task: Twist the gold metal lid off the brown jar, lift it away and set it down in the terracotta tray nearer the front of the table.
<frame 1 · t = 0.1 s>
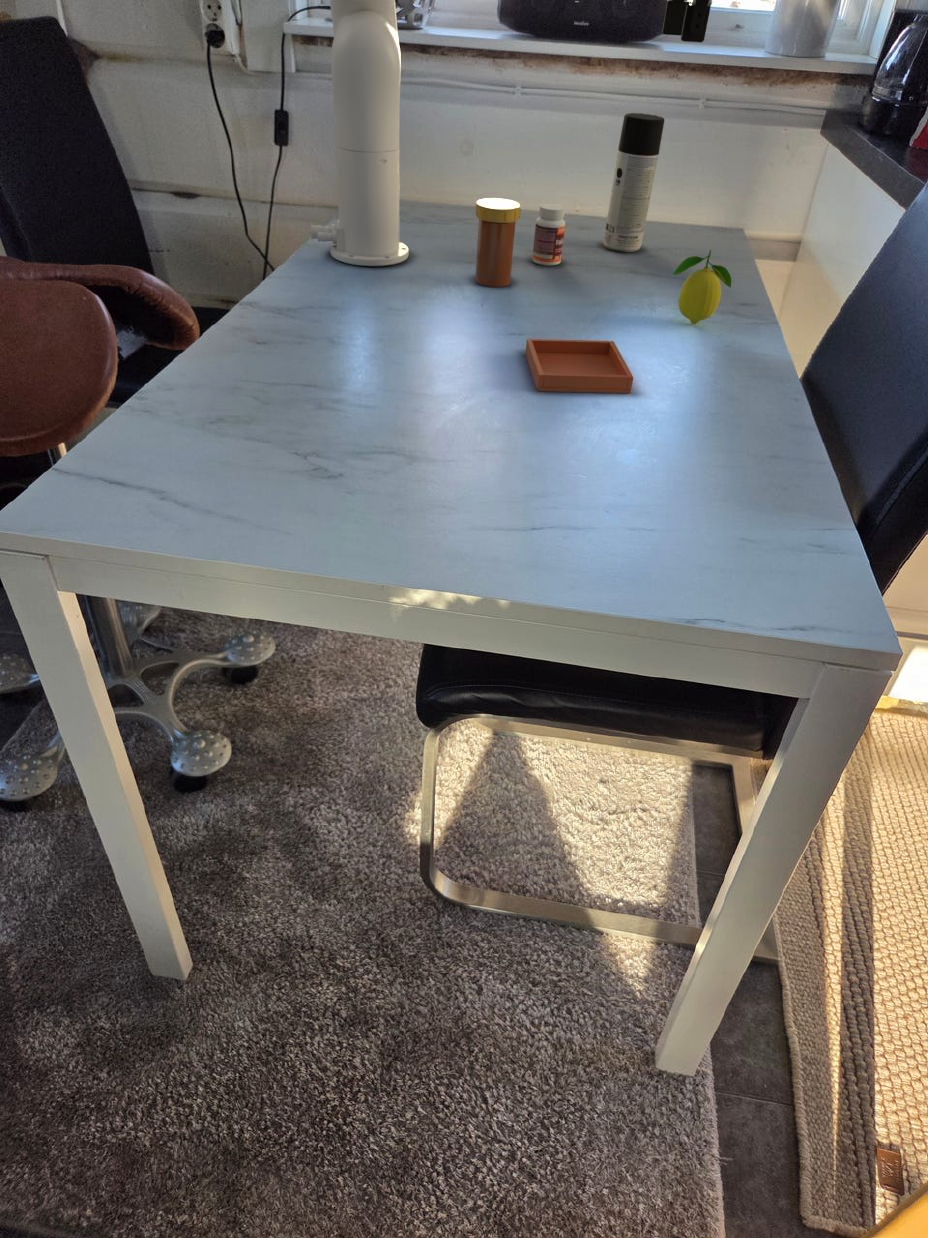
hand: (681, 37, 118), 31 cm above the table, tool pointing down, fingers open, 9 cm apart
lemon: (692, 325, 117), on the table
pill bottle: (546, 262, 137), on the table
brown jar: (492, 281, 127), on the table
jar lid: (498, 205, 120), point 11 cm above the table, screwed on, not yet turned
tray: (575, 372, 102), on the table
spray can: (621, 248, 146), on the table
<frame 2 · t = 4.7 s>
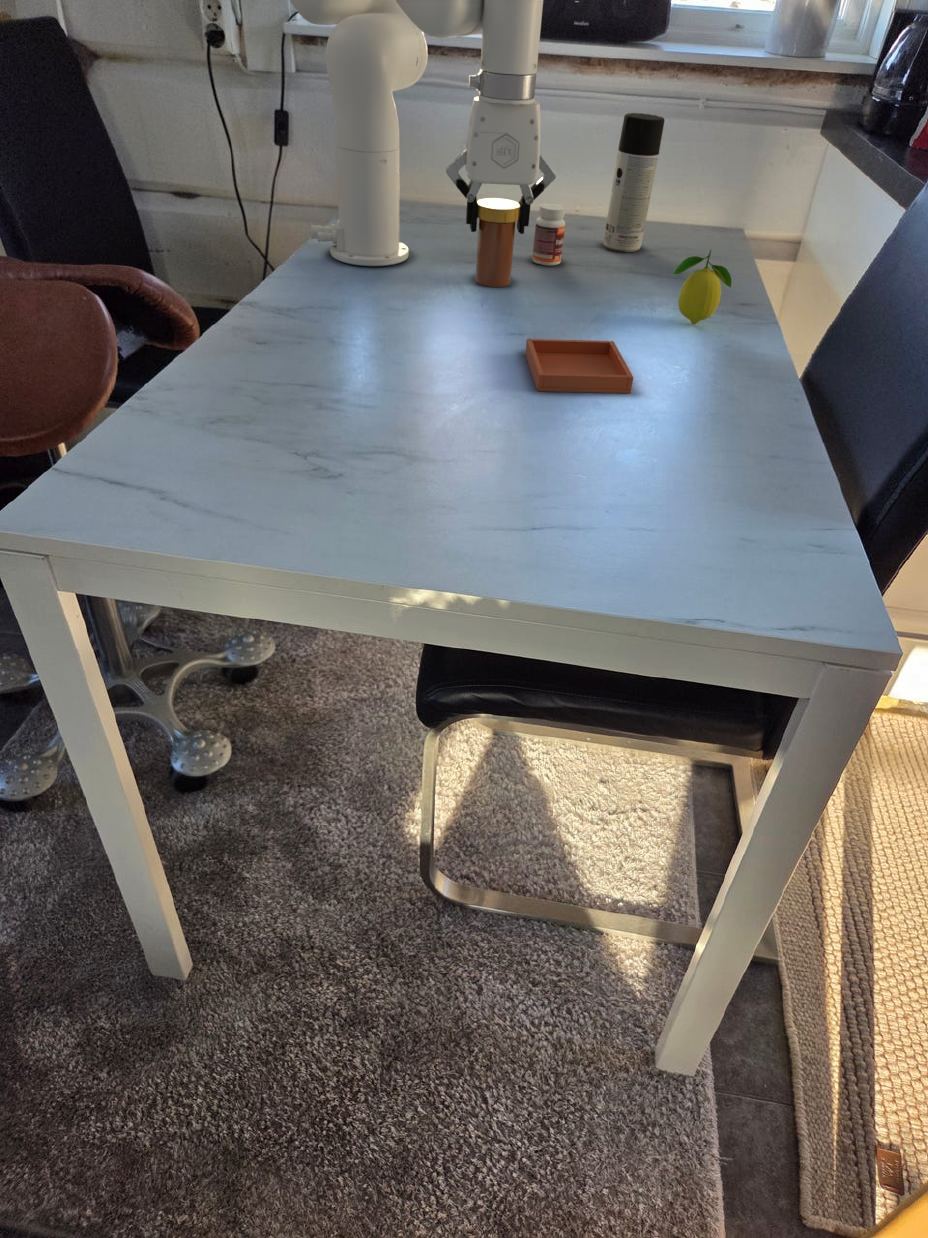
hand: (496, 229, 122), 8 cm above the table, tool pointing down, fingers closed on jar lid, 6 cm apart
jar lid: (498, 205, 120), point 11 cm above the table, screwed on, not yet turned, touching gripper
everything else where it was.
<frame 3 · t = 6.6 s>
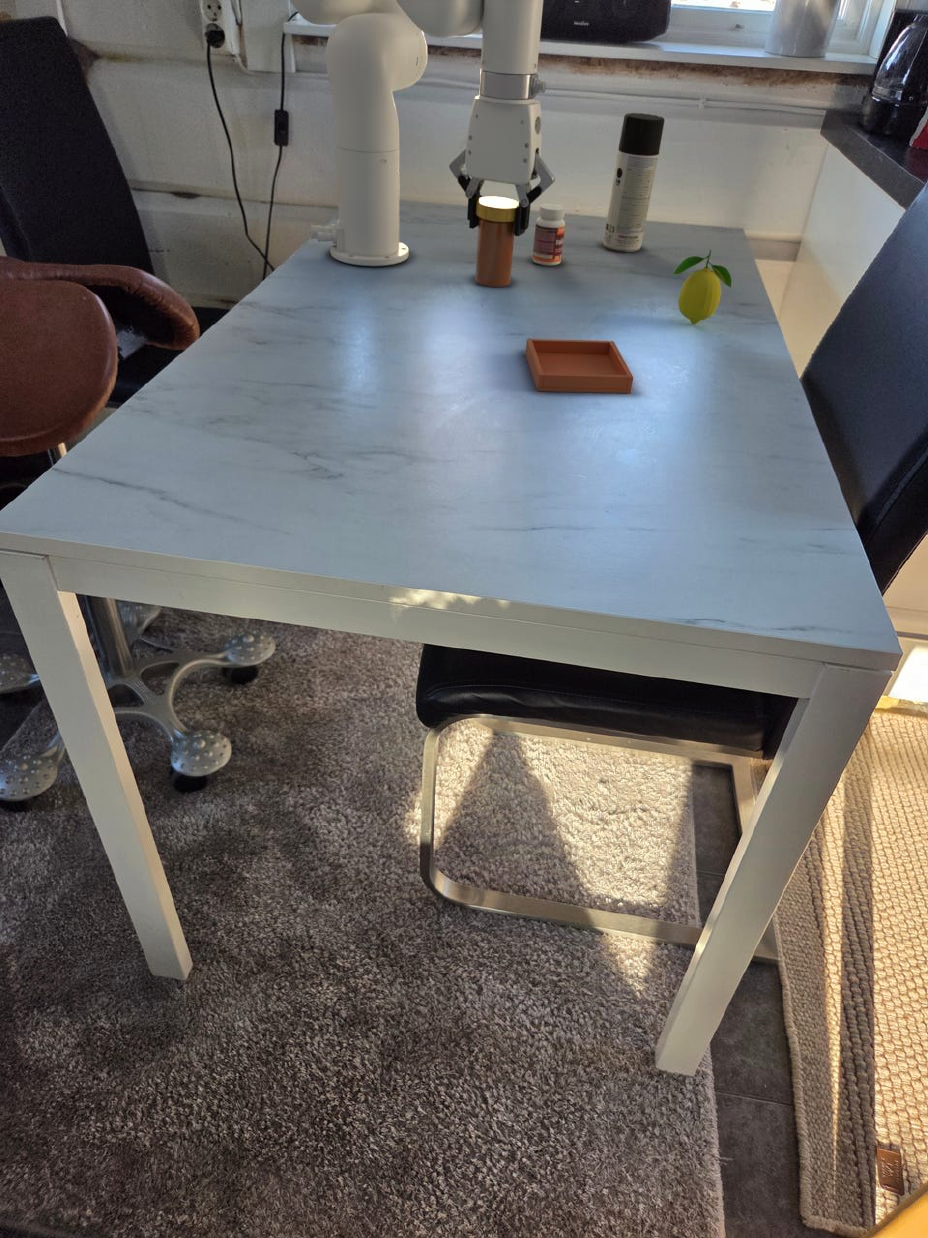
hand: (497, 228, 122), 8 cm above the table, tool pointing down, fingers closed on jar lid, 6 cm apart
jar lid: (498, 204, 120), point 11 cm above the table, off its thread, touching gripper
everything else where it was.
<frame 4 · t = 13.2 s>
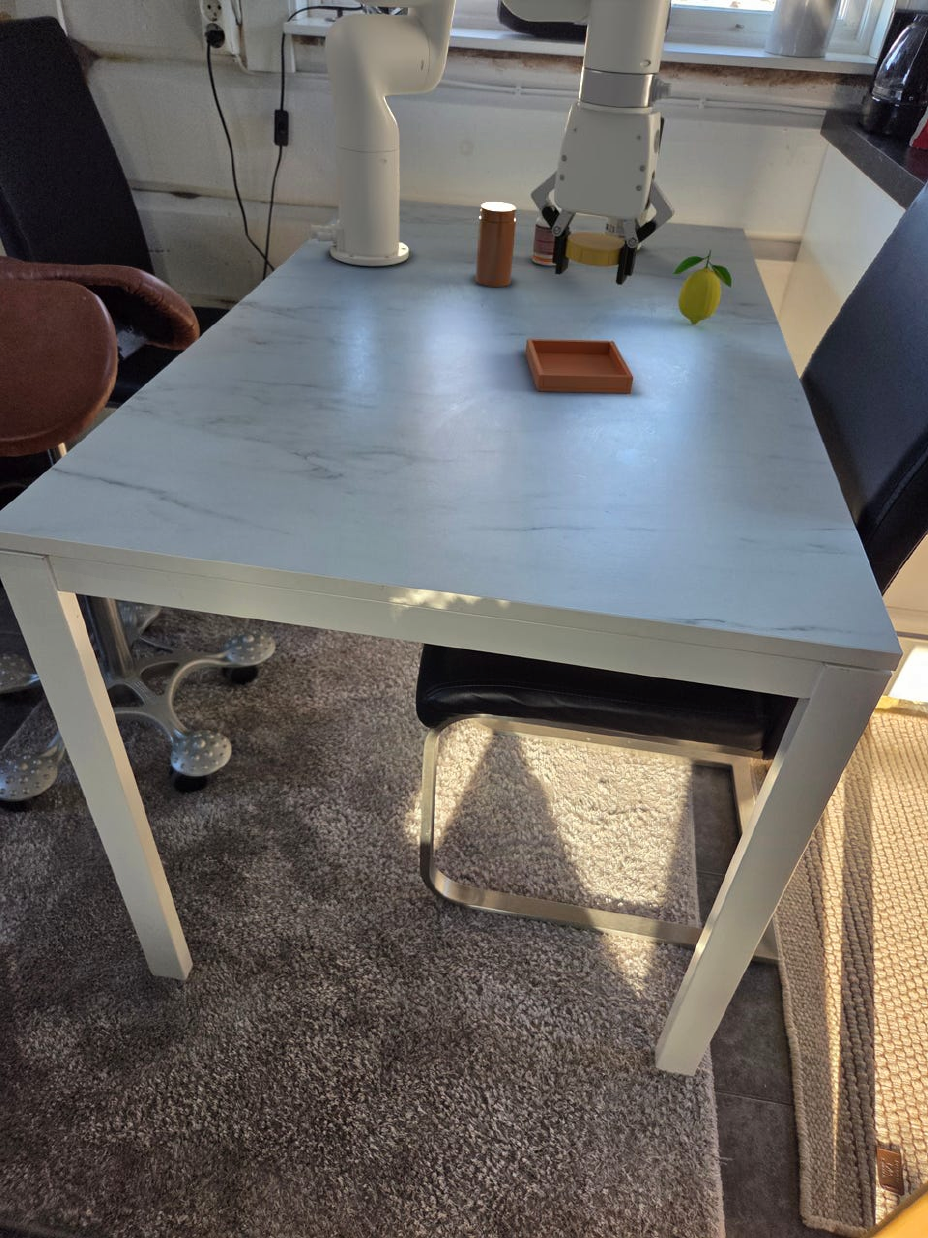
hand: (591, 274, 94), 12 cm above the table, tool pointing down, fingers closed on jar lid, 6 cm apart
jar lid: (595, 243, 92), point 15 cm above the table, off its thread, touching gripper
everything else where it was.
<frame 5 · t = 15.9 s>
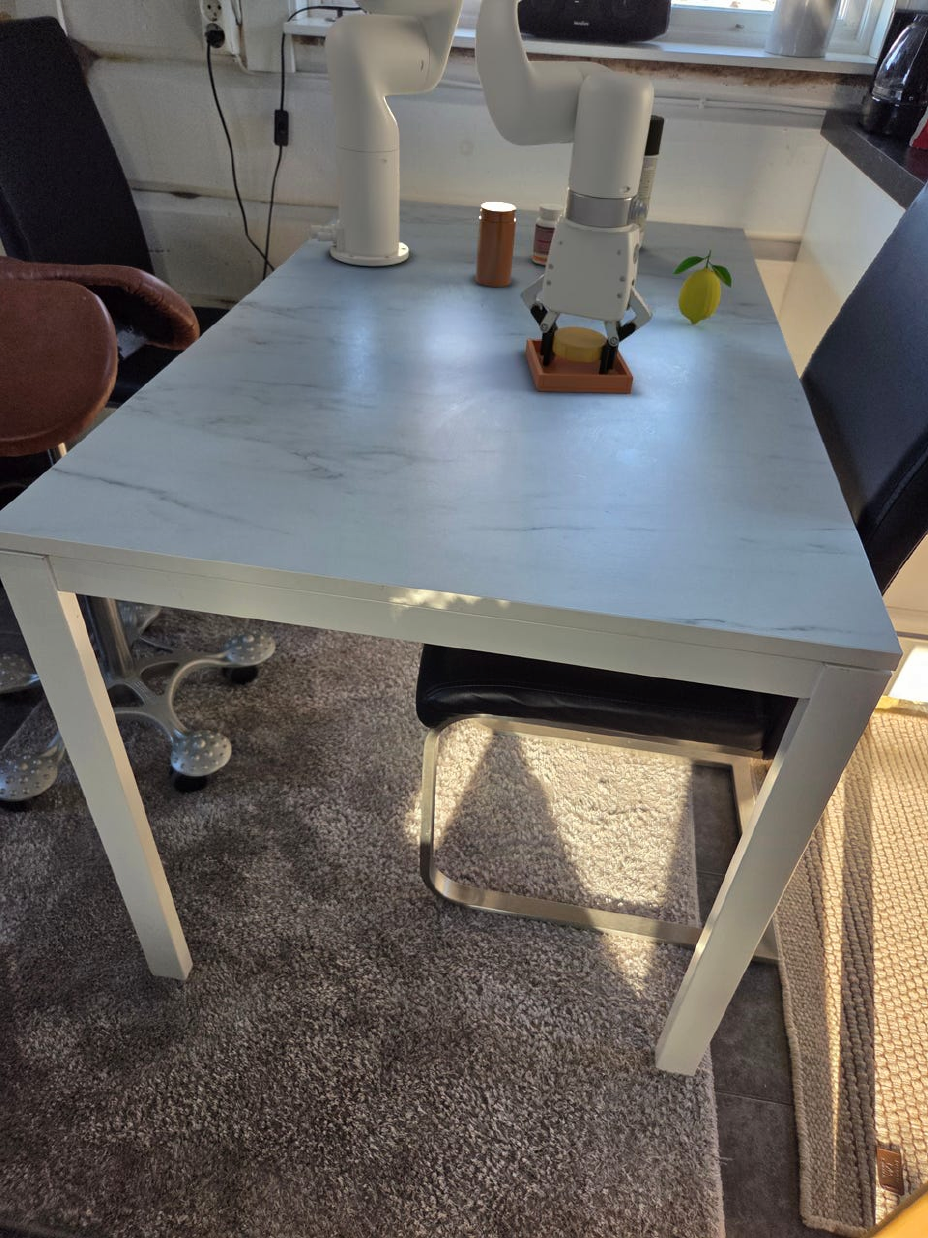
hand: (576, 366, 101), 1 cm above the table, tool pointing down, fingers closed on jar lid, 6 cm apart
jar lid: (580, 339, 99), point 4 cm above the table, off its thread, touching gripper
everything else where it was.
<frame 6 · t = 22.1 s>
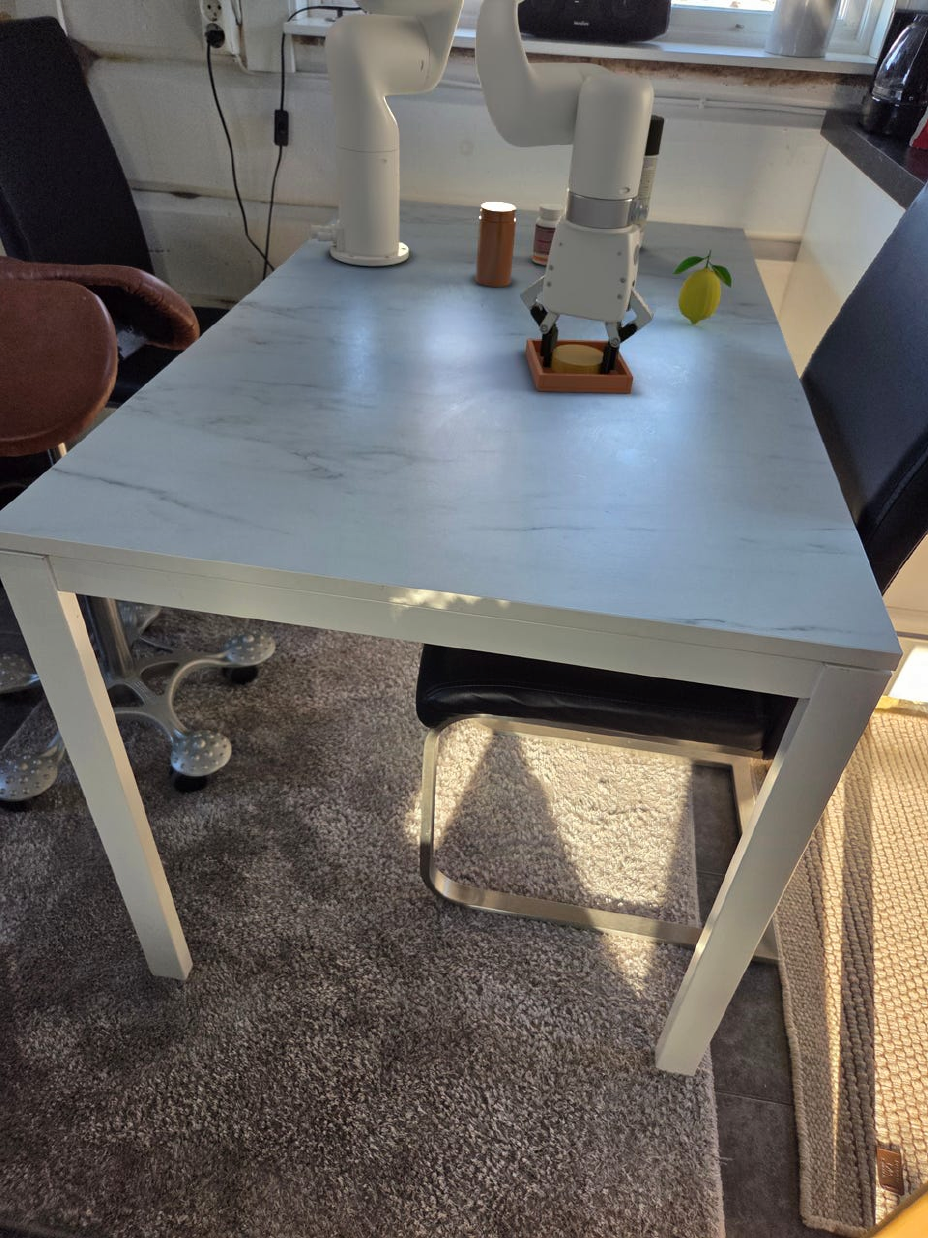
hand: (576, 367, 101), 1 cm above the table, tool pointing down, fingers closed on jar lid, 6 cm apart
jar lid: (578, 356, 100), point 2 cm above the table, off its thread, touching gripper
everything else where it was.
when the fingers open (2 cm above the table, at t = 23.0 s): jar lid stays where it is, resting on tray.
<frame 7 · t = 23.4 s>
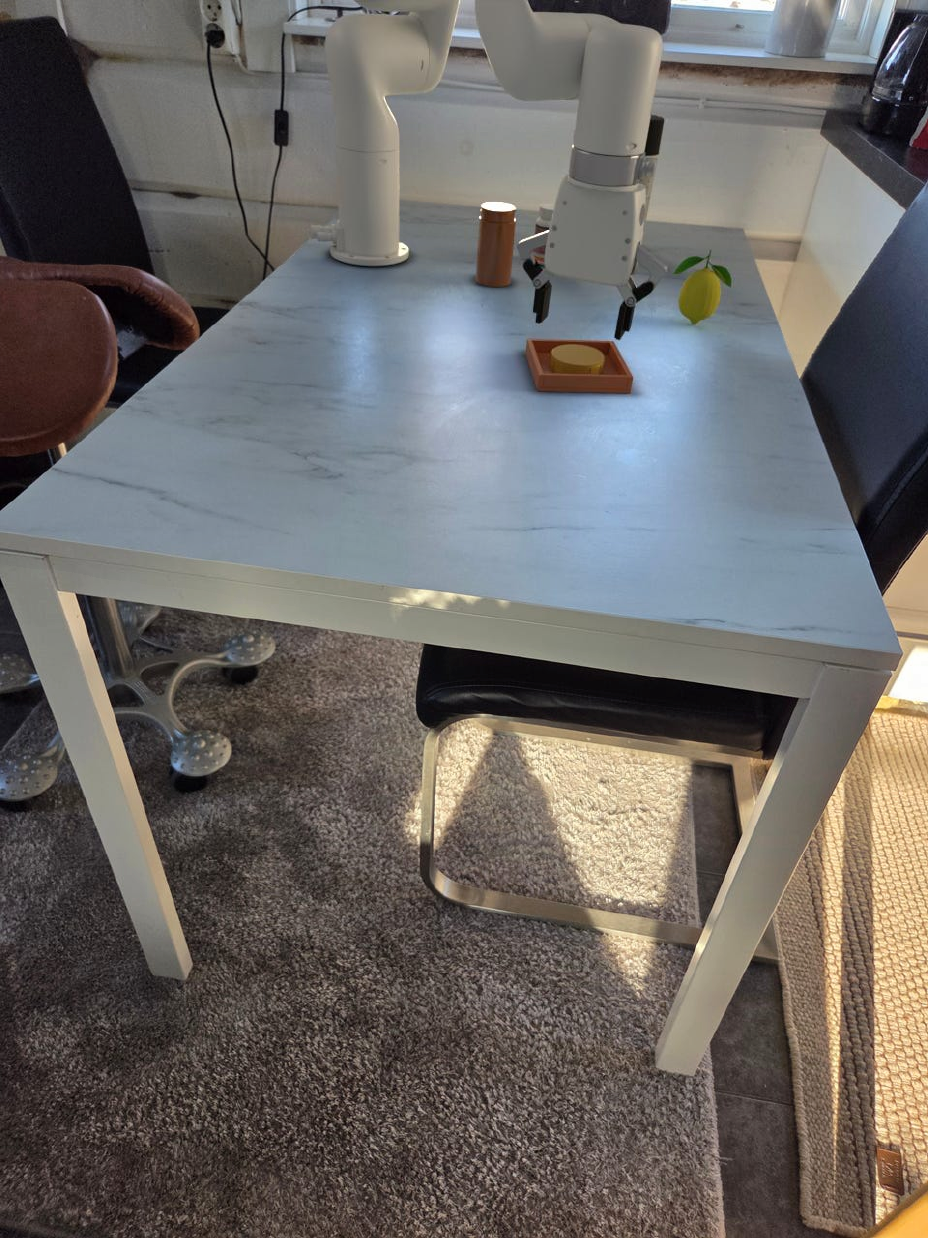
hand: (580, 327, 99), 5 cm above the table, tool pointing down, fingers open, 9 cm apart
jar lid: (577, 356, 101), point 2 cm above the table, off its thread, touching tray
everything else where it was.
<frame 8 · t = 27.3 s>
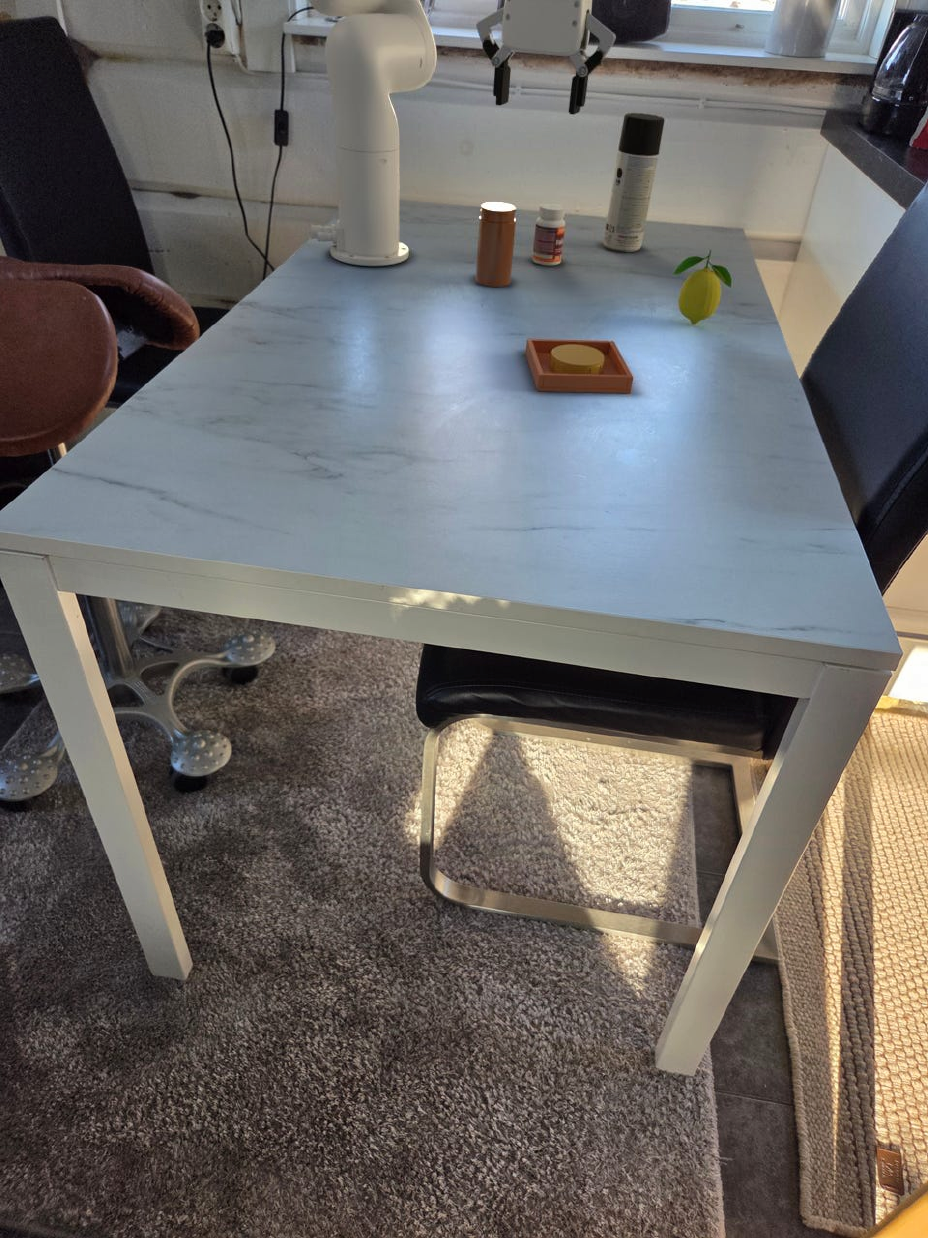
hand: (537, 108, 105), 24 cm above the table, tool pointing down, fingers open, 9 cm apart
nothing on the table moved.
at the end: jar lid inside the target area on the tray (0.1 cm from its centre), point 2.0 cm above the tray's base; the gripper is holding nothing; brown jar tilted 0° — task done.
